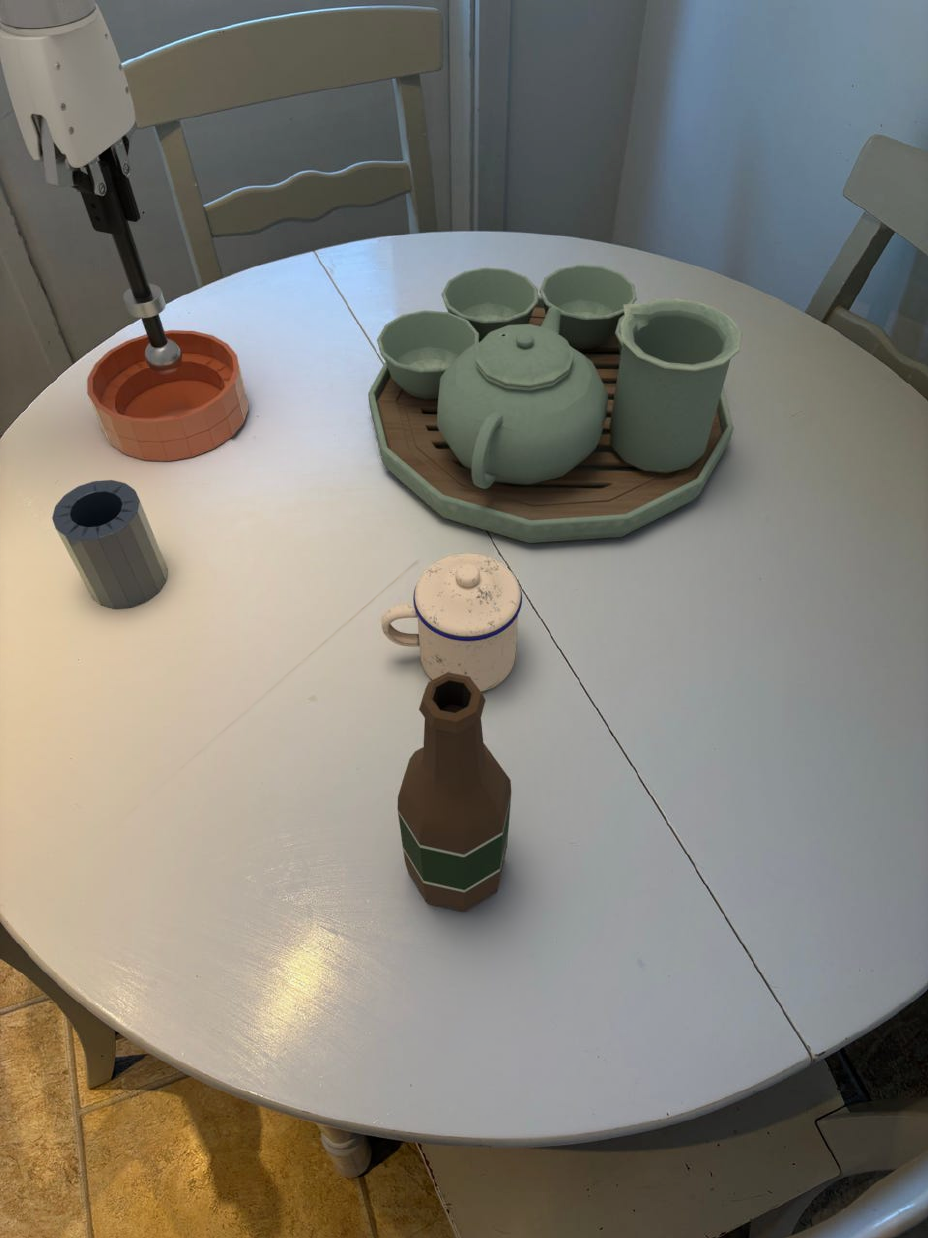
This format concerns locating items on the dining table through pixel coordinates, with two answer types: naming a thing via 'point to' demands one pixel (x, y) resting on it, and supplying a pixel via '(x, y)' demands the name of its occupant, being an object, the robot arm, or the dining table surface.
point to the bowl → (169, 398)
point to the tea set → (554, 403)
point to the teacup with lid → (463, 619)
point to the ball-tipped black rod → (143, 294)
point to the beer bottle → (454, 800)
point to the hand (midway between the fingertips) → (117, 223)
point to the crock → (111, 543)
